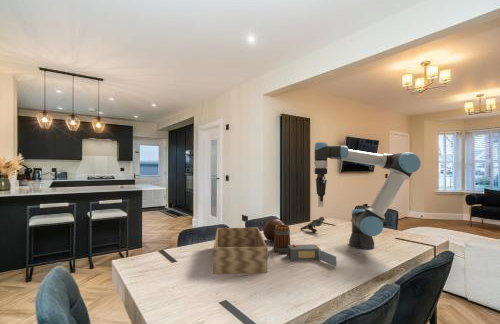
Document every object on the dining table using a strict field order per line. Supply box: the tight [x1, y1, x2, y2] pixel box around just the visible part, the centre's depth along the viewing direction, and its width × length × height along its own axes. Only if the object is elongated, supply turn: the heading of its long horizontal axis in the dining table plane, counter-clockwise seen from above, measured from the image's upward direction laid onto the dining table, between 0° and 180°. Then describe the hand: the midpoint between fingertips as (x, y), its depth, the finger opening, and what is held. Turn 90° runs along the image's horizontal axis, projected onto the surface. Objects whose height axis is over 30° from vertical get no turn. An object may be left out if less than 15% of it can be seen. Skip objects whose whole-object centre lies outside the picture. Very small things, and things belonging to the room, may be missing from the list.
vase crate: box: [212, 227, 268, 275], centre depth 144 cm, size 26×40×12 cm, turn 5°
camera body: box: [286, 243, 321, 262], centre depth 146 cm, size 17×8×7 cm, turn 95°
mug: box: [272, 223, 291, 255], centre depth 159 cm, size 16×11×15 cm
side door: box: [317, 248, 337, 267], centre depth 137 cm, size 12×1×6 cm, turn 29°
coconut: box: [262, 218, 284, 243], centre depth 176 cm, size 15×15×15 cm
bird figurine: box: [299, 216, 325, 234], centre depth 202 cm, size 13×10×20 cm
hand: (320, 206), depth 159 cm, fingers closed
